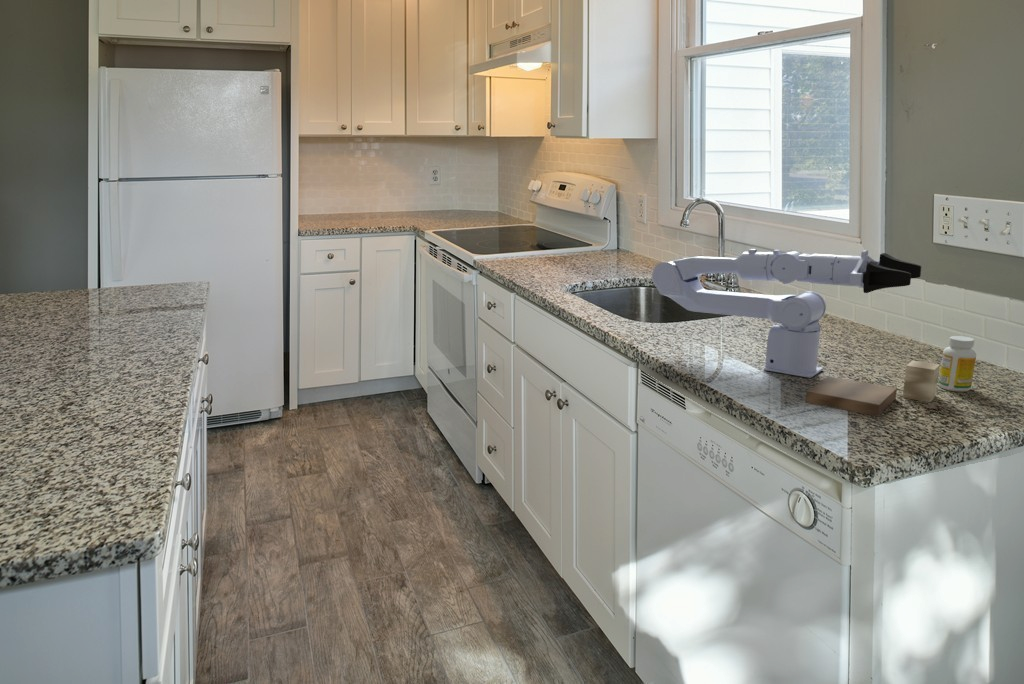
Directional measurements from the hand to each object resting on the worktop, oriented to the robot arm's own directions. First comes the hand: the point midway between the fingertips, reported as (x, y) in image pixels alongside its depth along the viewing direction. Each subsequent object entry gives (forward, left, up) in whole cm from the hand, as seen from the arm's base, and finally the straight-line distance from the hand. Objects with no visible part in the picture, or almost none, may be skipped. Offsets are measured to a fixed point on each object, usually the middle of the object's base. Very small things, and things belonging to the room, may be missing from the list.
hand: (915, 275), depth 140 cm
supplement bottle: (+8, +7, -22) cm, 24 cm away
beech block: (+4, -3, -21) cm, 22 cm away
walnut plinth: (-5, -13, -21) cm, 26 cm away
